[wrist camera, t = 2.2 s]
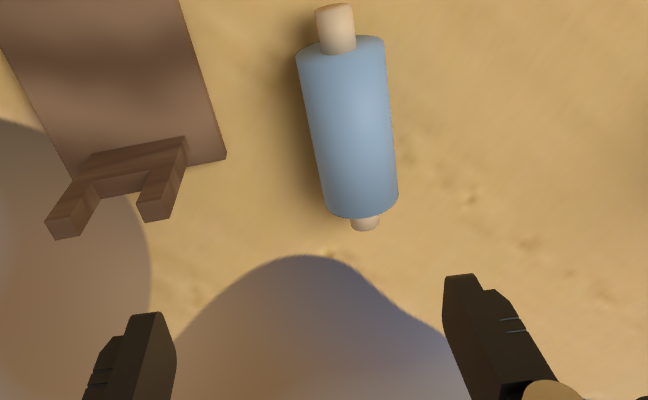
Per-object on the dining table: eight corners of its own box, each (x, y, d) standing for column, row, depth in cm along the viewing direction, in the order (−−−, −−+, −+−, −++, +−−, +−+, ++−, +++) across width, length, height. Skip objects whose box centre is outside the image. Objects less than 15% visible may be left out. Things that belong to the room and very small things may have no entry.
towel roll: (280, 10, 27) (295, 28, 23) (364, -9, 27) (393, 5, 23) (323, 212, 35) (339, 253, 31) (387, 195, 35) (411, 233, 31)
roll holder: (-64, -95, 23) (-214, -90, 16) (135, -136, 23) (73, -150, 16) (82, 180, 32) (27, 262, 25) (226, 152, 32) (213, 226, 25)
